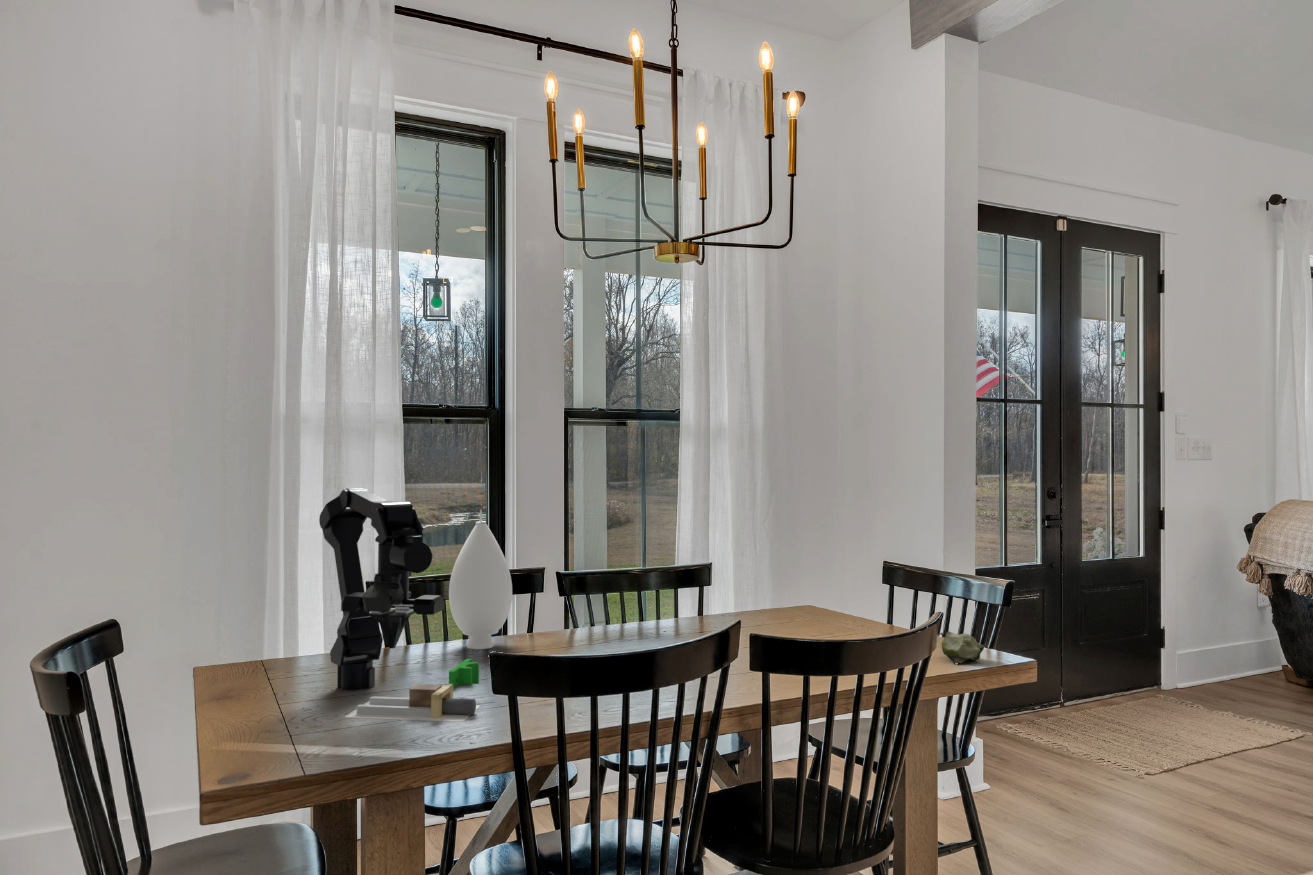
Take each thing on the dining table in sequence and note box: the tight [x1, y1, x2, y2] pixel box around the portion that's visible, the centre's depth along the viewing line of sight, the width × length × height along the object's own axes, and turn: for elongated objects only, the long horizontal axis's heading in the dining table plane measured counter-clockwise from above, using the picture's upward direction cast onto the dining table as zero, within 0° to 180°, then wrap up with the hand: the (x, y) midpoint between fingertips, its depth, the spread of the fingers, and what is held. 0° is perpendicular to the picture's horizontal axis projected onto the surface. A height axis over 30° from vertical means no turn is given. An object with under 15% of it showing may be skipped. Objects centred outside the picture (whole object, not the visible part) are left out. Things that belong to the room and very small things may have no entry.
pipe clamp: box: [448, 658, 480, 689], centre depth 184 cm, size 11×4×5 cm, turn 173°
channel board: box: [344, 683, 481, 723], centre depth 163 cm, size 22×10×5 cm, turn 84°
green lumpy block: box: [939, 630, 985, 664], centre depth 208 cm, size 9×9×8 cm
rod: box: [442, 697, 477, 716], centre depth 161 cm, size 7×3×3 cm, turn 84°
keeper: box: [408, 683, 443, 707], centre depth 162 cm, size 5×3×4 cm
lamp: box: [448, 509, 513, 650], centre depth 221 cm, size 16×16×35 cm
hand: (392, 648), depth 167 cm, fingers closed
